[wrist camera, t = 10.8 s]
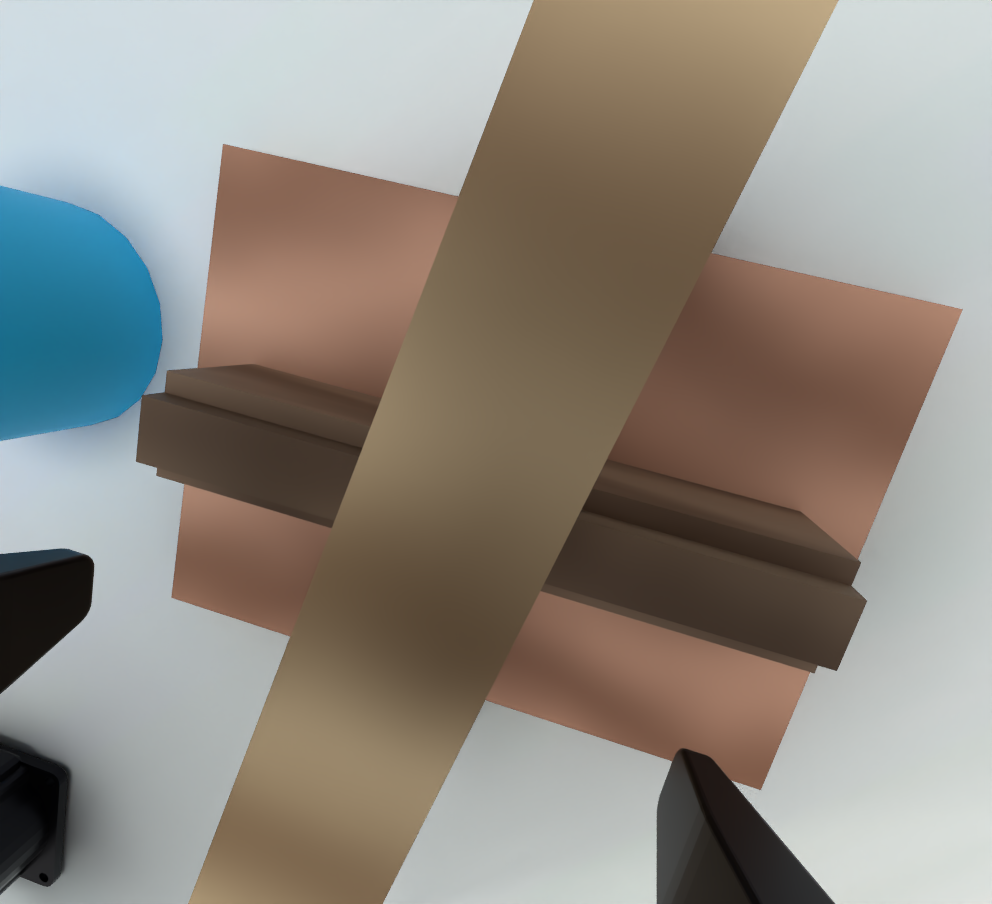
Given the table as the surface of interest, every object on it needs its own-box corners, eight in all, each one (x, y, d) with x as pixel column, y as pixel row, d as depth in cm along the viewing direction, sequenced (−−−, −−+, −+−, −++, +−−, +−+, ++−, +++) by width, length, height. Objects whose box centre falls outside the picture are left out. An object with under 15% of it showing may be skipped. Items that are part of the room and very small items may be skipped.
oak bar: (583, 58, 11) (576, -112, 7) (746, 126, 11) (842, -7, 7) (280, 793, 16) (167, 958, 12) (389, 851, 16) (313, 1040, 12)
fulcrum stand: (751, 764, 20) (814, 935, 14) (193, 584, 23) (55, 668, 17) (936, 311, 17) (1120, 297, 11) (245, 155, 19) (92, 76, 13)
